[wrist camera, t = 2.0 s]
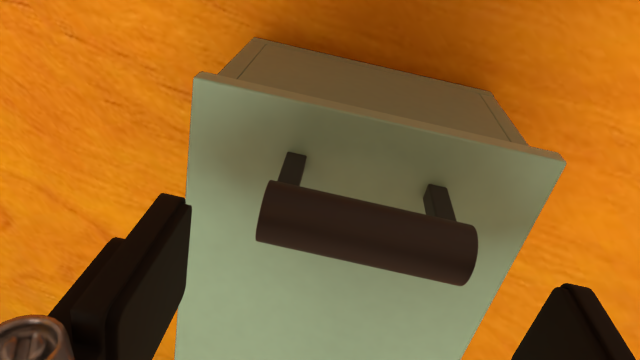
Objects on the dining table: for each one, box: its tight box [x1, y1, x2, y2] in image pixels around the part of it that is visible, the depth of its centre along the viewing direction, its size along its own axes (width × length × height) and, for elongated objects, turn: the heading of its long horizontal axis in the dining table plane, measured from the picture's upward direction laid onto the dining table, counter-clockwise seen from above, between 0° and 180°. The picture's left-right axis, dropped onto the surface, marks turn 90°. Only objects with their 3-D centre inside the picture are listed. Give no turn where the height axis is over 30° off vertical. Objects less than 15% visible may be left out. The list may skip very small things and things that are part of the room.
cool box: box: [217, 37, 529, 146], centre depth 24 cm, size 16×13×9 cm
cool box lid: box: [174, 71, 566, 360], centre depth 18 cm, size 16×13×5 cm
